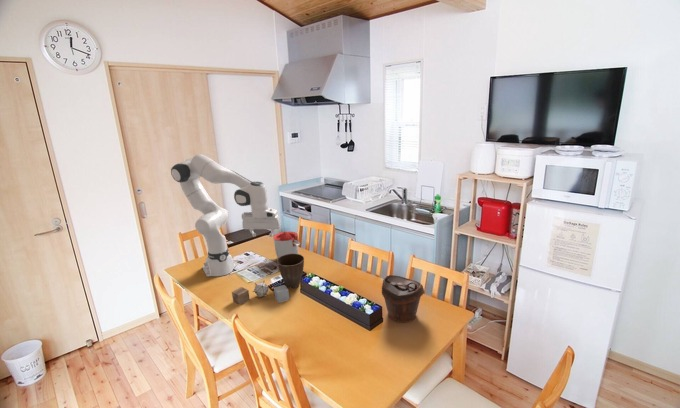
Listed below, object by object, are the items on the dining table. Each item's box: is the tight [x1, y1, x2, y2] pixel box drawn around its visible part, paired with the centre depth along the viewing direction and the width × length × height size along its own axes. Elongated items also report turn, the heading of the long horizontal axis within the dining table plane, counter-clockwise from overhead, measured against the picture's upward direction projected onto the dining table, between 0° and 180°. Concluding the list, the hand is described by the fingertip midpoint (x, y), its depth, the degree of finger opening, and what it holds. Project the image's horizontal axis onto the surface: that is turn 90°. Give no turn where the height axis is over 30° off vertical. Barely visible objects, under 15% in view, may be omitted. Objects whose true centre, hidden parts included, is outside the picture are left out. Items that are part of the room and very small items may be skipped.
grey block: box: [273, 284, 290, 304], centre depth 174 cm, size 6×6×6 cm
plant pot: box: [276, 253, 305, 289], centre depth 185 cm, size 15×15×16 cm
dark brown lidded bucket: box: [381, 274, 425, 323], centre depth 154 cm, size 18×20×18 cm
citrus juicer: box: [272, 231, 301, 259], centre depth 216 cm, size 16×17×20 cm
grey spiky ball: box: [252, 281, 271, 299], centre depth 177 cm, size 9×8×10 cm
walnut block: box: [231, 286, 251, 306], centre depth 174 cm, size 6×6×6 cm
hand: (262, 236), depth 181 cm, fingers open, 8 cm apart
